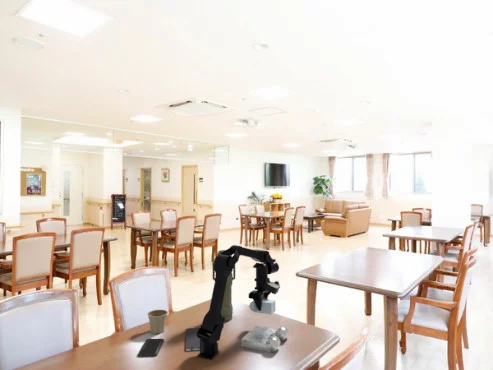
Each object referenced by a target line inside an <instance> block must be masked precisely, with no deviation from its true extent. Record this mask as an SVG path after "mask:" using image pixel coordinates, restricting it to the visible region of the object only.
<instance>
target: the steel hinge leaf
mask: <svg viewBox="0 0 493 370" xmlns="http://www.w3.org/2000/svg"><path fill="white" fill-rule="evenodd" d="M289 333H290V332H289V328H288V327H287V326H285V325H280V326H279V327H278V328H271V327H266V326H259V325H255V326H254V327H253V328H252V329H251V330H250V331H248V332H247V333H246V334H245V335H244V336H243V337H242V338H241V340H240V343H241V345H240V346H241V347H243V348H248V349H252V350H257V351H262V352H268V353H275V352H276V351H277V350H278V349H279V347H280V346H281V342H283V341H285V340H286V339H287V337H288V336H289Z"/></svg>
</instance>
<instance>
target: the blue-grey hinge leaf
mask: <svg viewBox="0 0 493 370" xmlns="http://www.w3.org/2000/svg"><path fill="white" fill-rule="evenodd" d="M248 306H249V307H248V308H249V309H250V311H251V312H253V313H259V314H264V315H273V314H274V313H275V312H276V300H274V299H269V298H268V299H263V300H262V307H261V311H259V310H258V308H257V306H256V304H255V302H254V300H252V301H251V302H250V303H249V305H248Z"/></svg>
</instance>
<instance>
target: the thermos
mask: <svg viewBox="0 0 493 370" xmlns="http://www.w3.org/2000/svg"><path fill="white" fill-rule="evenodd" d="M225 250H226V249H221V250H219V251H217V255H216V256H218V255H219V254H220V253H222V252H223V251H225ZM214 261H215V259H214V260H213V262H212V280H213V281H214V282H215V278H216V273H215V270H214ZM234 280H236V264H235V265H234V267H233V270H232V272H231V274H230V275H229V276H228V278H227V283H226V288H225V293H224V299H223V304H222V309H221V315H222V317H224V318H225V321H224V323H226V322H229V321H232V320H233V313H234V312H233V311H234V309H233V304H232V302H233V301H232V296H233V295H232V294H233V292H232V290H233V289H232V286H233V281H234Z"/></svg>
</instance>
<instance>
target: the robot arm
mask: <svg viewBox="0 0 493 370" xmlns="http://www.w3.org/2000/svg"><path fill="white" fill-rule="evenodd" d="M224 250H225V251H223V252H222V253H220V254H219V255H218V256H217V255H216V256H215V257H214V260H215V261H214V260H213V262H214V270H215V275H216V278H215V281H214V285H213V288H212V294H211V299H210V304H209V308H208V309H209V310H208V311H207V312H206V314H205V315H204V317H203V320H202V323H201V325H200V327H198V328H199V330H198V331H197V333H196V335H197V338H200V350H199V353H198V354H197V356H198V357H201V358H205V359H209V360H212V359H213V358H215V357H216V356H217V355H218V354H219V353H220V351H219V343H218V342H219V341H220V339H221V337H222V336H221V335H222V333H223V332H222V331H223V329H224V325H225V322H224V321H225V318H224V317H222V315H221V309H222V304H223V299H224V293H225V288H226V283H227V278H228V276H229V275H230V274H231V272H232V273H233V267H234V265H235V266H236V264H237V263H238V262H239V259H240V256H242V257H246V258H250V259H251V260H253V261H255V264H254V265H253V266H252V268H254V269H255V278H253V279H254V282H255V286H254V289H253V290H252V291H251V290H250V292H249V293H248V299H252V301H254V302H255V304H256V306H257V308H258V310H259V311H261V307H262V300H263V299H268V300H269V295H271V294H272V295H277V293H279V289H280V288H281V285H280V281H279V280H275V281H270V277H269V275H272V274H274V273H278V272H279V270H280V265H279V264H278V262H277V261H276V258H272V256H271V255H270V251H268V250H265V249H257V248H256V249H251V248H247V247H243V246H241V245H237V244H233V245H231V246H230V247H229V248H227V249H224ZM207 333H208V334H207ZM210 334H211V335H210Z"/></svg>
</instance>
